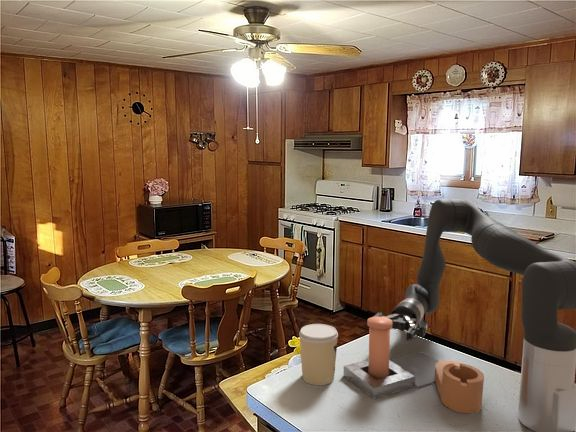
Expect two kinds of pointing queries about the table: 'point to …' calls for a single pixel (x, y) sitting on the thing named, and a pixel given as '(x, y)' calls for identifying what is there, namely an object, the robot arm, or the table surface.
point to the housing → (383, 386)
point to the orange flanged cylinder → (379, 346)
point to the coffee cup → (318, 353)
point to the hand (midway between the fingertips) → (391, 333)
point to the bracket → (459, 386)
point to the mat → (418, 367)
